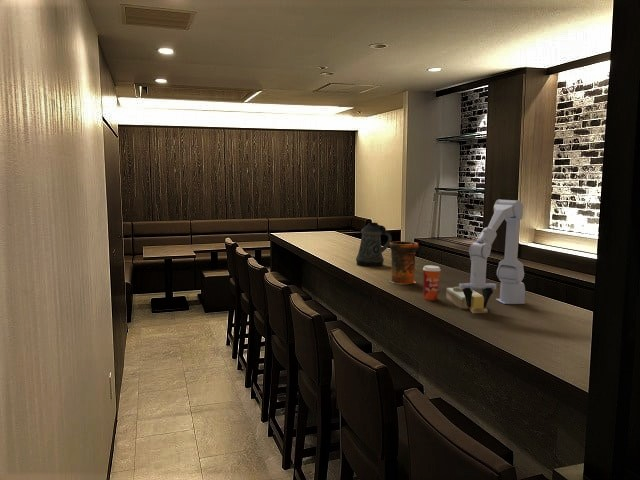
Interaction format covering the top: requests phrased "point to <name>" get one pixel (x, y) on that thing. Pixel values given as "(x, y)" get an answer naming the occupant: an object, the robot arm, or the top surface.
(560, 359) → the top surface
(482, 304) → the yellow block
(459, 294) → the lid
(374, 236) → the beer stein
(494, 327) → the top surface
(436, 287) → the paper cup
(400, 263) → the vessel
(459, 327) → the top surface
